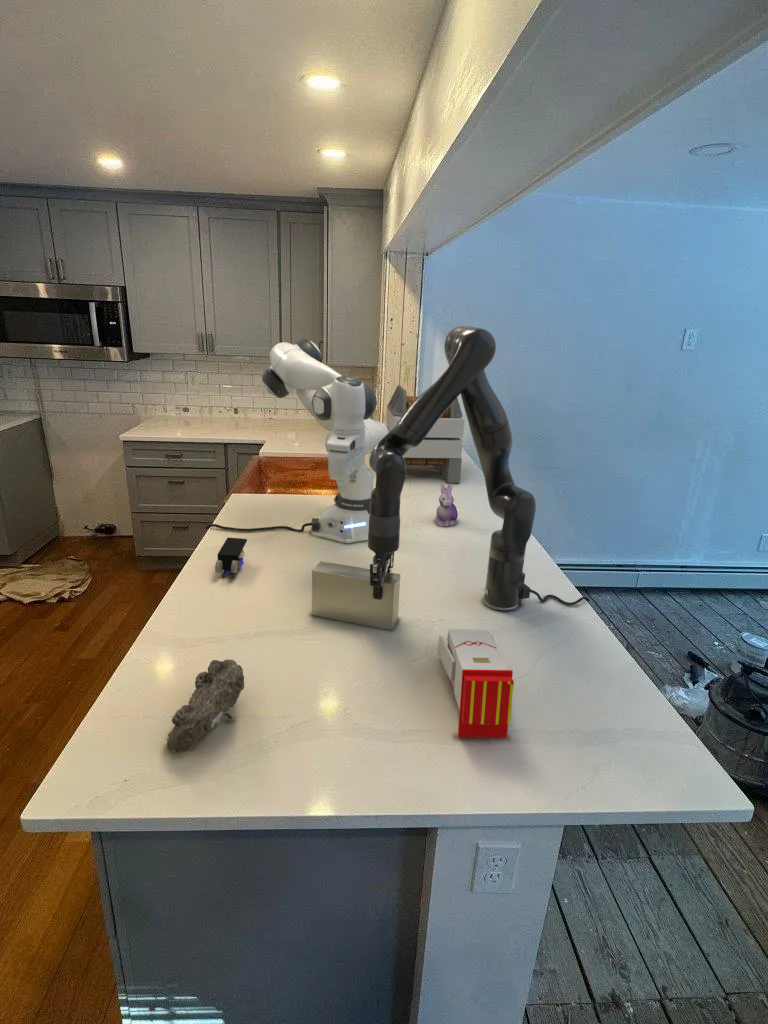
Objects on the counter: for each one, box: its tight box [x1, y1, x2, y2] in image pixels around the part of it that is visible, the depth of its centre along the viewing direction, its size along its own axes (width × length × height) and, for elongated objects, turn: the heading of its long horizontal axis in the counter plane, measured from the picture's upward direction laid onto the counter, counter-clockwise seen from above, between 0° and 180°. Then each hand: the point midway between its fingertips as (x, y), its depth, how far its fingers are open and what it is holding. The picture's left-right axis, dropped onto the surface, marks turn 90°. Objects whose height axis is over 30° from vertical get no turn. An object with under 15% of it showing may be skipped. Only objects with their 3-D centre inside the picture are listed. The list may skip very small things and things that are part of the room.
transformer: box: [385, 384, 465, 484], centre depth 268 cm, size 34×33×41 cm
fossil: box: [166, 658, 245, 754], centre depth 106 cm, size 22×10×15 cm
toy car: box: [214, 537, 248, 578], centre depth 166 cm, size 7×8×15 cm
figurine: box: [434, 483, 459, 527], centre depth 210 cm, size 9×10×15 cm
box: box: [311, 560, 401, 631], centre depth 143 cm, size 21×6×13 cm, turn 74°
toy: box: [437, 628, 515, 738], centre depth 117 cm, size 12×13×30 cm
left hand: (347, 487), depth 158 cm, fingers open, 8 cm apart
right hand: (381, 592), depth 141 cm, fingers closed on box, 6 cm apart
